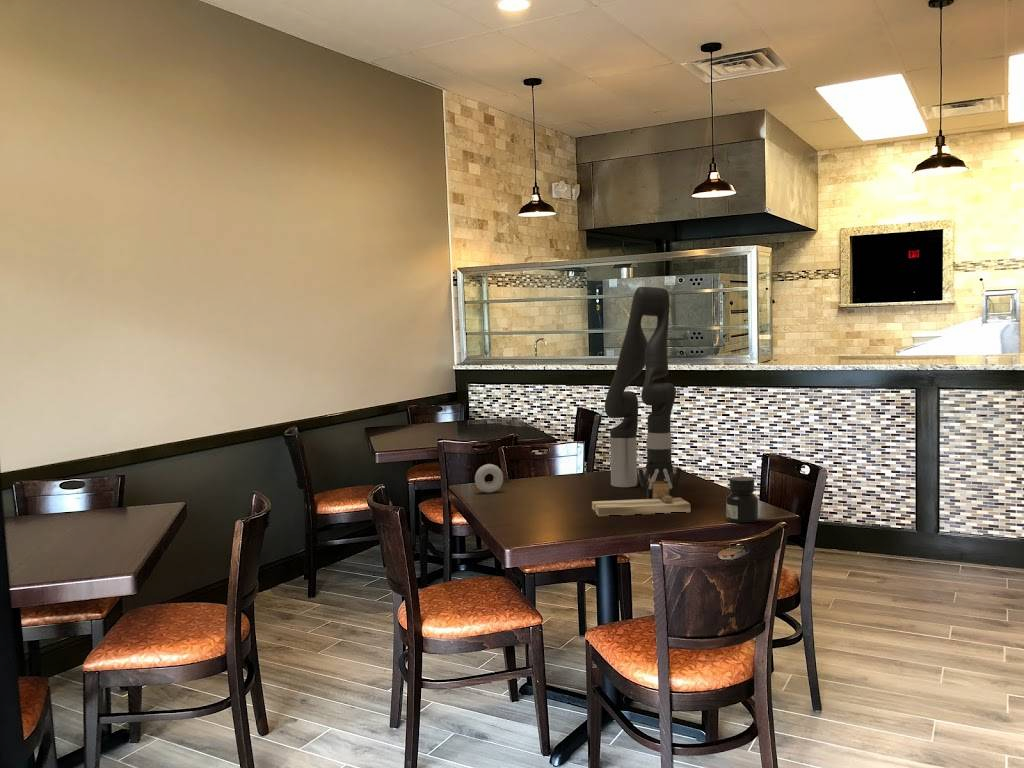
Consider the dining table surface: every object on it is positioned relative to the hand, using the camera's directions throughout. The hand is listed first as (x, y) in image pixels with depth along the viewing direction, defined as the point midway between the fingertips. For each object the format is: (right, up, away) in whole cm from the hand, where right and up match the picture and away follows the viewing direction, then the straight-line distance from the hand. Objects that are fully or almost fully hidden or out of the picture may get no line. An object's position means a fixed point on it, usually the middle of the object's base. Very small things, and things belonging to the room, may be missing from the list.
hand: (659, 500), depth 269 cm
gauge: (0, -2, -4) cm, 4 cm away
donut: (-54, -1, +26) cm, 60 cm away
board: (-7, -2, -8) cm, 11 cm away
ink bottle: (+20, -3, -23) cm, 31 cm away
